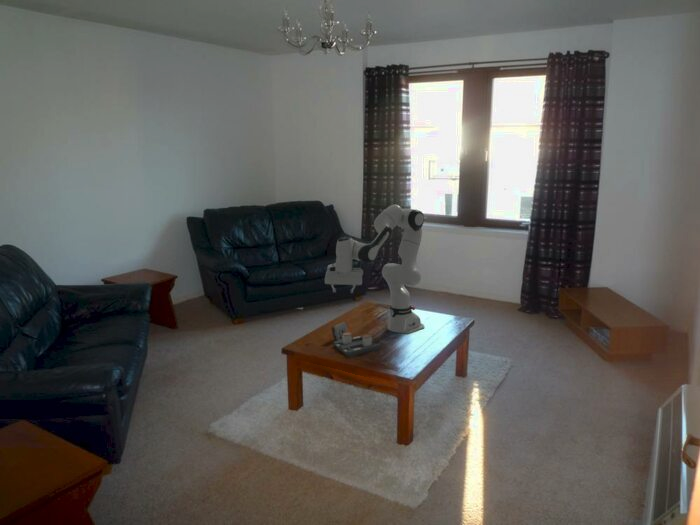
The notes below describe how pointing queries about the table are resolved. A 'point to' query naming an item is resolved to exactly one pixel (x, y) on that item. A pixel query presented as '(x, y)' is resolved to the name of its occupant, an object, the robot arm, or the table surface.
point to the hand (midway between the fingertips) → (343, 292)
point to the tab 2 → (367, 340)
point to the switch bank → (356, 346)
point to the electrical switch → (339, 331)
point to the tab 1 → (346, 338)
